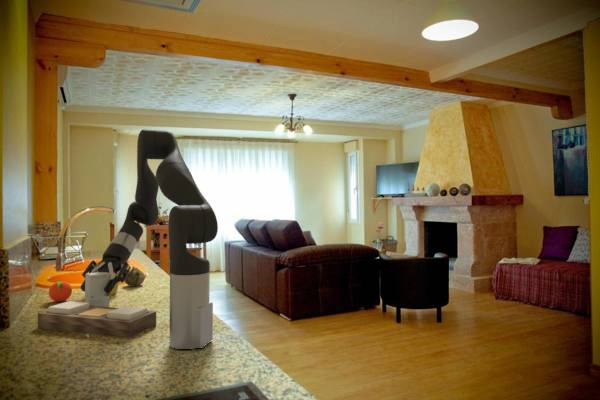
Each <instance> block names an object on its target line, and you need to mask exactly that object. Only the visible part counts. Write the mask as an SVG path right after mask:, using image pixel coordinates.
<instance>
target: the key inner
mask: <svg viewBox="0 0 600 400" xmlns="http://www.w3.org/2000/svg"><path fill="white" fill-rule="evenodd" d="M117 308H118V309H115V310H112V311H110V312H107V318H112V319H122V320H132V319H135V318H137V317H140V316H142V315H145V314H147V311H148V307H141V306H129V305H128V306H127V305H124V306H121V307H117Z"/></svg>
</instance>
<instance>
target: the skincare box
mask: <svg viewBox="0 0 600 400" xmlns="http://www.w3.org/2000/svg"><path fill="white" fill-rule="evenodd" d="M84 280H85V292H84V303H89V305H90V306H102V307H110V296H111V295H110V293H109V294H108V293H106V292H105V291H104V288H105V286H106V285H107V283H108V281H109V280H110V273H107V272H97V273H89V272H88V273H86V274H85V278H84Z"/></svg>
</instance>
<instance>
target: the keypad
mask: <svg viewBox="0 0 600 400" xmlns="http://www.w3.org/2000/svg"><path fill="white" fill-rule="evenodd" d="M95 308H103V309H114V310H115V309H118V308H119V307H110V306H109V307H102V306H90V305H89V308H88V309H85V310H82V311H79V312H75V313H72V314H60V313H50V312H49V309H48V310H45V311H40V312H37V329H42V330H52V331H61V332H62V331H63V332H69V333H78V334H79V333H80V334H87V335H88V334H89V335H96V336H97V335H98V336H108V337H114V338H122V339H131V338H133V337H135V335H136V336H138V335H139V333H140V334H142V333H144V332H146V331H148V330H151V329H152V327H153V328H154V326H155V327H156V326H157V311H156V310H147V314H145V315H142V316H140V317H137V318H135V319H132V320H122V319H112V318H107V315H104V316H101V317H91V316H81V315H77V314H80V313H83V312H86V311H89V310H92V309H95ZM147 329H148V330H147ZM145 330H146V331H145ZM143 331H144V332H143ZM141 332H142V333H141ZM137 334H138V335H137Z"/></svg>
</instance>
